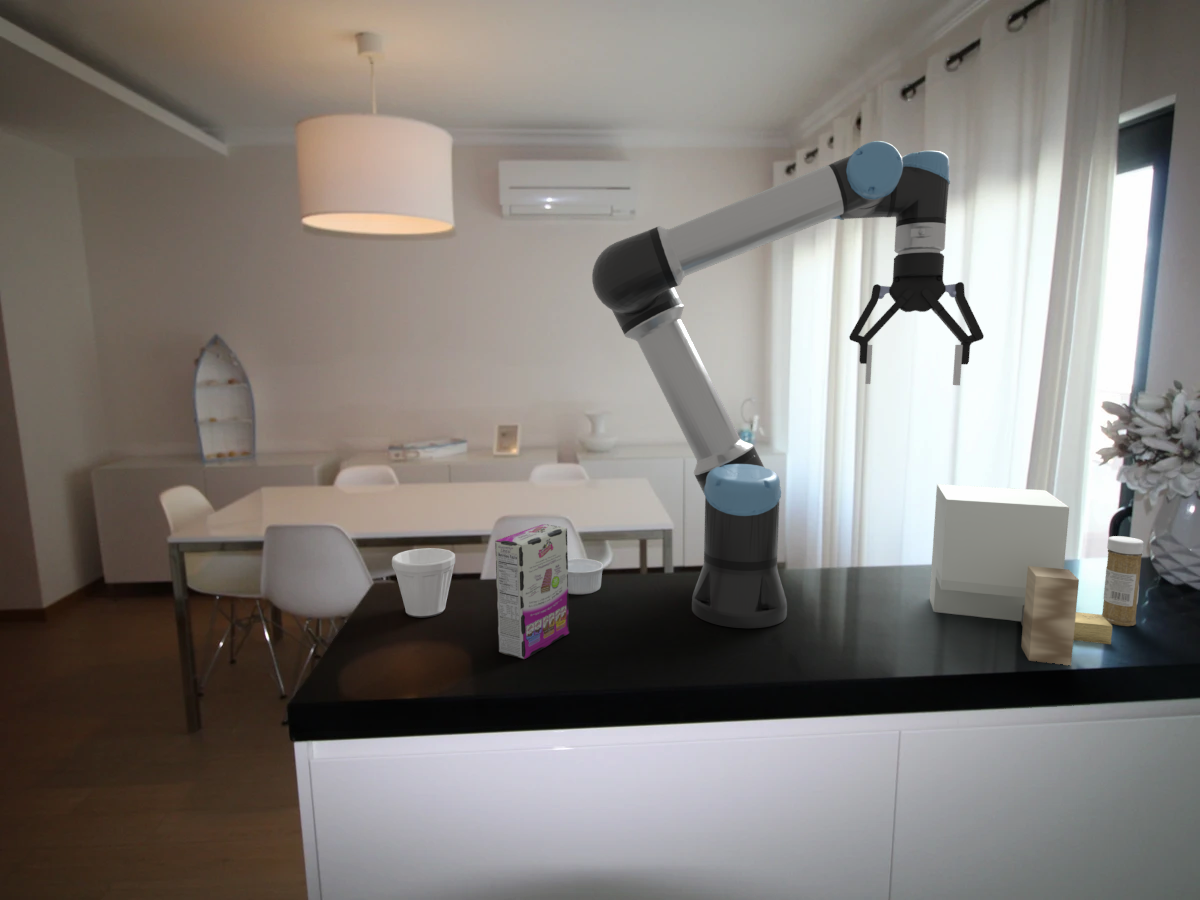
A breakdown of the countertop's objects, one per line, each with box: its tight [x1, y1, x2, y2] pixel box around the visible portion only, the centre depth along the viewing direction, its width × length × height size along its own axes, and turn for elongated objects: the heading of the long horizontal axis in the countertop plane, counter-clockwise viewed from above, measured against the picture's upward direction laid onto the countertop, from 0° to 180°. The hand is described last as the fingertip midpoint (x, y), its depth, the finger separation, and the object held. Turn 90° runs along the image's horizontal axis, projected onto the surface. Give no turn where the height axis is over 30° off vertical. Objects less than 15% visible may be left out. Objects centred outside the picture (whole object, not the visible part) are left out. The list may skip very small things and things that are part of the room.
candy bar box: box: [494, 523, 570, 660], centre depth 104 cm, size 11×5×16 cm, turn 148°
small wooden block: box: [1073, 611, 1113, 645], centre depth 108 cm, size 5×5×3 cm
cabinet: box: [929, 483, 1070, 622], centre depth 114 cm, size 16×14×20 cm
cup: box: [391, 547, 456, 619], centre depth 117 cm, size 10×10×9 cm
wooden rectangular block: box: [1020, 566, 1080, 667], centre depth 105 cm, size 5×15×12 cm, turn 161°
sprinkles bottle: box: [1101, 535, 1145, 627], centre depth 113 cm, size 5×5×13 cm
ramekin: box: [568, 557, 604, 595], centre depth 130 cm, size 9×9×4 cm
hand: (911, 384), depth 121 cm, fingers open, 13 cm apart
